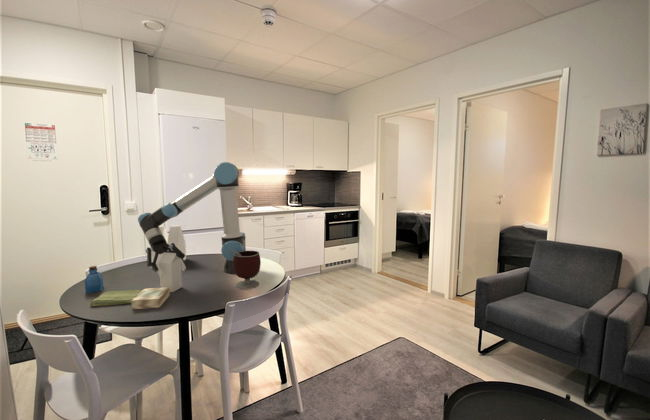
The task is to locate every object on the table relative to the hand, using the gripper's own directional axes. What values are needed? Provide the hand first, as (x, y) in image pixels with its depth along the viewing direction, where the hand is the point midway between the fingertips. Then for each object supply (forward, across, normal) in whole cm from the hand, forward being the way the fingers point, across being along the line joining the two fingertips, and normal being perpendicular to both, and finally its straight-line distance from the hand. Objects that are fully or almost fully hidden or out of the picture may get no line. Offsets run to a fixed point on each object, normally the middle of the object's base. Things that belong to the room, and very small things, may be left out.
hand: (173, 272), depth 152 cm
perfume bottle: (-17, +23, -31) cm, 42 cm away
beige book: (+10, +13, -3) cm, 17 cm away
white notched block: (-28, -24, -42) cm, 56 cm away
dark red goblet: (+24, -26, +10) cm, 36 cm away
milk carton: (+5, 0, -9) cm, 10 cm away
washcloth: (0, +21, -14) cm, 26 cm away
